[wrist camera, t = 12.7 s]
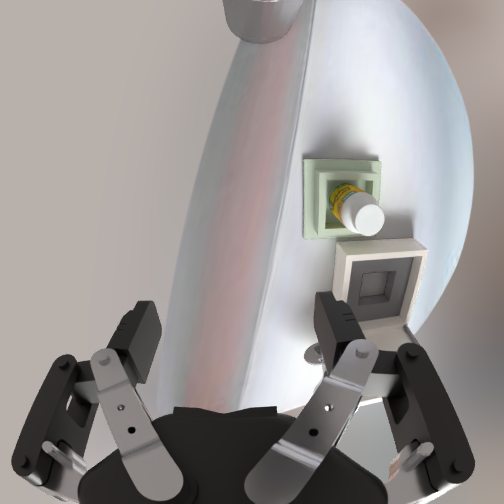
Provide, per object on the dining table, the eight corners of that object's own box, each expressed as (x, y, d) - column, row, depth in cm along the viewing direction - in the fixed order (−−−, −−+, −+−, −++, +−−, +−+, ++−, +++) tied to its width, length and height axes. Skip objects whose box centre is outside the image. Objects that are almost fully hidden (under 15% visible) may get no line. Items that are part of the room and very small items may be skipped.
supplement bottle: (348, 223, 40) (373, 249, 31) (320, 206, 39) (340, 229, 30) (366, 193, 38) (397, 213, 29) (339, 175, 37) (365, 189, 28)
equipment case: (336, 241, 42) (387, 315, 25) (413, 238, 42) (480, 296, 25) (327, 325, 49) (355, 407, 32) (395, 316, 49) (437, 384, 32)
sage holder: (303, 158, 37) (308, 161, 34) (379, 160, 37) (389, 164, 34) (303, 237, 42) (307, 246, 39) (373, 234, 42) (382, 242, 39)
